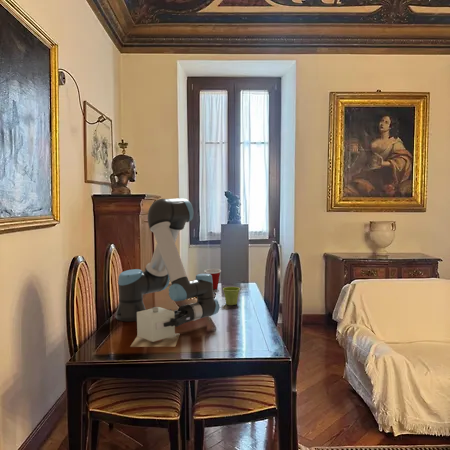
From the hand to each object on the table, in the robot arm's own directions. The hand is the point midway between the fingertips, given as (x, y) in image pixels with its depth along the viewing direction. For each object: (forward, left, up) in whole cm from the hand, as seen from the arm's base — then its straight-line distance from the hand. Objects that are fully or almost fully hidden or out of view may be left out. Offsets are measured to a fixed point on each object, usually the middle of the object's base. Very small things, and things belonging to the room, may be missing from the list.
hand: (147, 323), depth 179 cm
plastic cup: (+22, +105, -10) cm, 108 cm away
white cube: (+3, +3, -6) cm, 7 cm away
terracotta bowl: (+3, +3, -8) cm, 9 cm away
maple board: (+3, +3, -9) cm, 10 cm away
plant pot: (+34, +66, -10) cm, 75 cm away
